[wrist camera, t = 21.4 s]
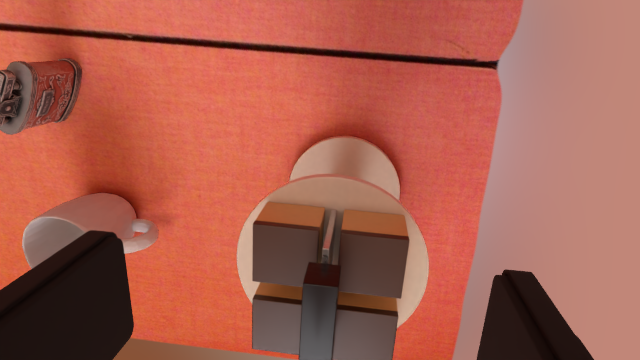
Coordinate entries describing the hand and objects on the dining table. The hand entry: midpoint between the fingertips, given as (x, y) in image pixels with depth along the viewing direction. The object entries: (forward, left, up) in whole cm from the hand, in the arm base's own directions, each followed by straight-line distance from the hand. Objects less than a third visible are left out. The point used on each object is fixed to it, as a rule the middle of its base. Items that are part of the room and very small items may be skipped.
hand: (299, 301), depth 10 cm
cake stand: (+8, +7, -37) cm, 39 cm away
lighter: (+23, -25, -37) cm, 51 cm away
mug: (+31, -10, -37) cm, 50 cm away
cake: (+8, +7, -19) cm, 22 cm away
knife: (+8, +7, -19) cm, 22 cm away
